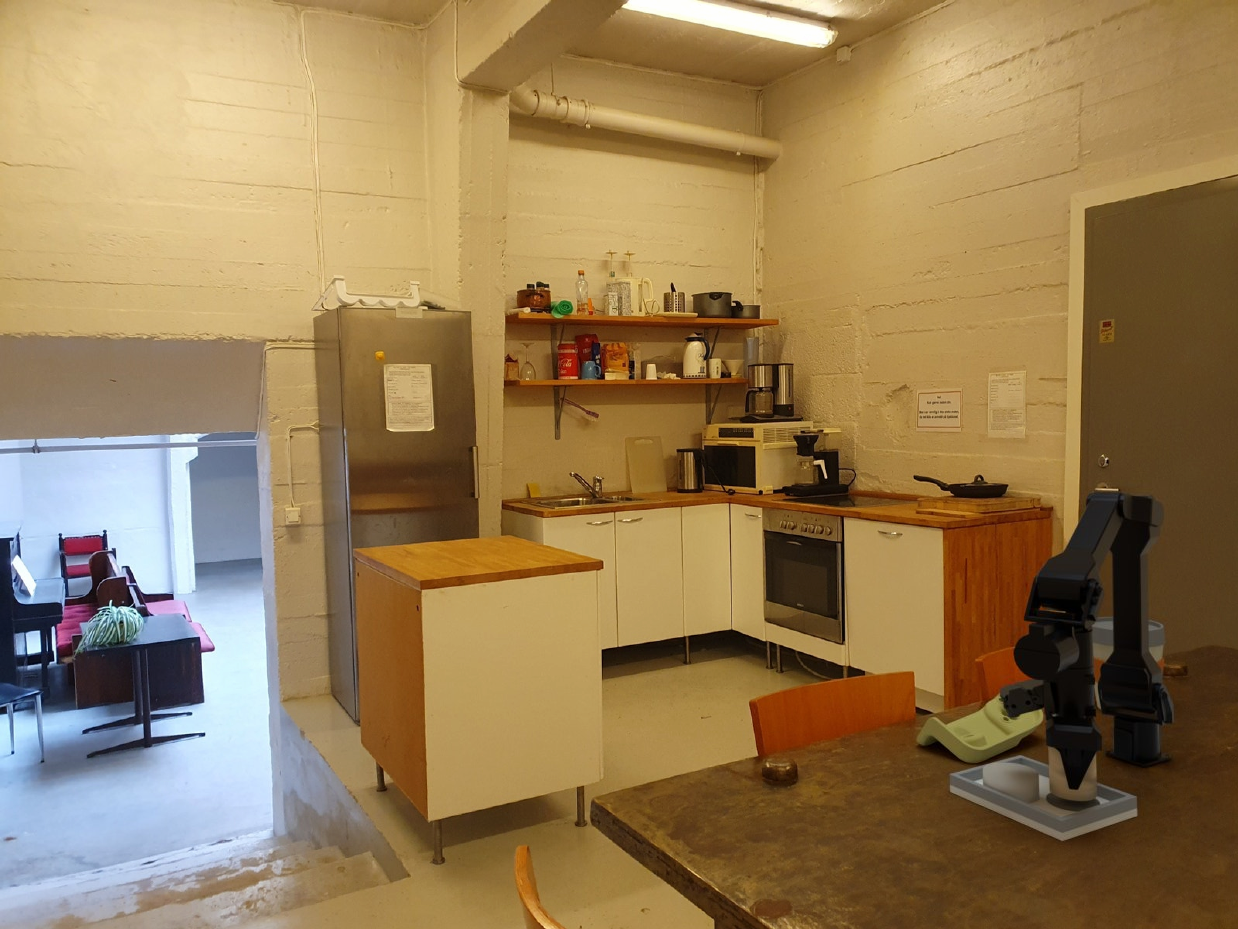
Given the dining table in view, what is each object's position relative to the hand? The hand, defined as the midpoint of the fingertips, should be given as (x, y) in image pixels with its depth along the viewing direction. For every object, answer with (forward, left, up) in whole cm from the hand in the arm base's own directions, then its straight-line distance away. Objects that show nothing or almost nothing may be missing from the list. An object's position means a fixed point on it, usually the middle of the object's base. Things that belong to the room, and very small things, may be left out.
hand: (1072, 781), depth 120 cm
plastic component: (-10, -23, -4) cm, 26 cm away
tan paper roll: (0, 0, -2) cm, 2 cm away
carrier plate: (+2, -3, -4) cm, 6 cm away
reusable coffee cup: (-44, -23, -4) cm, 50 cm away
